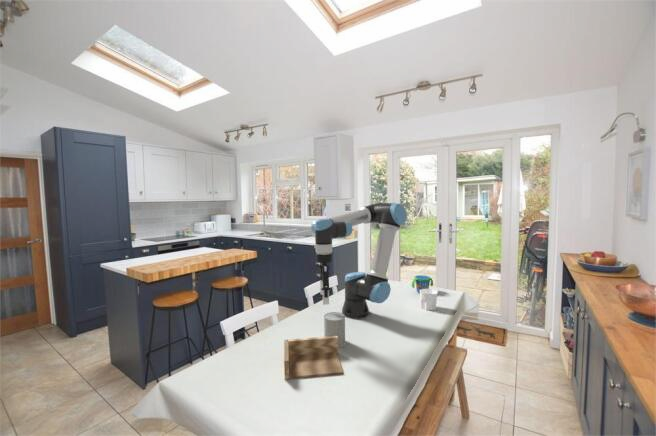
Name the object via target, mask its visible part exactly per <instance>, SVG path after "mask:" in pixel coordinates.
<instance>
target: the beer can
mask: <svg viewBox="0 0 656 436" xmlns="http://www.w3.org/2000/svg"><path fill="white" fill-rule="evenodd" d="M323 320H324V321H323V323H324V325H323V329H324V330H323V332H324V336H323V337H329V336H338V348H342V347H343V346H345V345H346V316H345V315H344V314H342V312H339V311H331V312H327V313H325V314H324V315H323Z"/></svg>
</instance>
